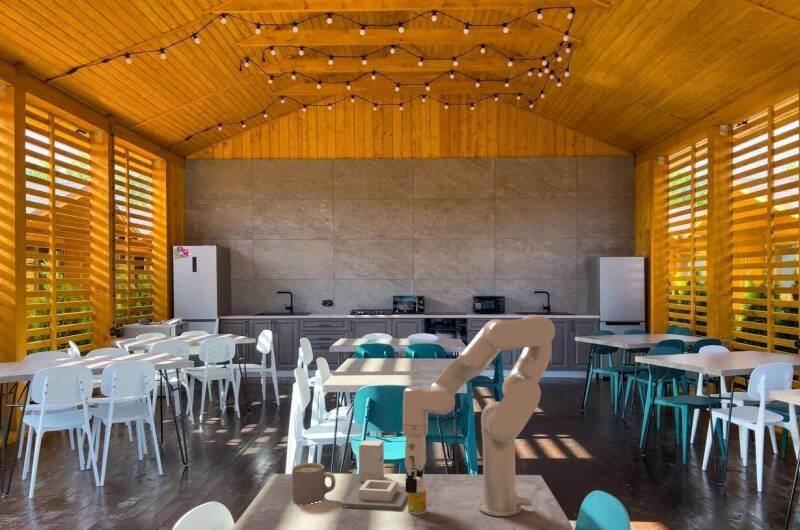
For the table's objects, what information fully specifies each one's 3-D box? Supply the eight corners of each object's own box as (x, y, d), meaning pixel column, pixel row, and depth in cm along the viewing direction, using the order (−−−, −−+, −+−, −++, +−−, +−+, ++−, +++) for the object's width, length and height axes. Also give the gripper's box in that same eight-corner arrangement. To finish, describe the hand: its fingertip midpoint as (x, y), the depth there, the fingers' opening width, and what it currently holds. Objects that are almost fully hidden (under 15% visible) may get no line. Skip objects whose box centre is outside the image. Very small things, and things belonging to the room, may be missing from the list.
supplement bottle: (412, 516, 182) (412, 482, 182) (405, 510, 187) (404, 477, 187) (429, 513, 184) (428, 480, 184) (421, 507, 189) (421, 475, 189)
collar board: (411, 491, 204) (411, 478, 204) (400, 510, 187) (400, 496, 187) (358, 488, 208) (358, 475, 208) (342, 507, 190) (342, 493, 190)
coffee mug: (288, 503, 194) (287, 471, 194) (299, 493, 203) (299, 462, 204) (329, 506, 191) (329, 473, 191) (338, 495, 201) (338, 464, 201)
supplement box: (379, 483, 213) (379, 445, 213) (358, 482, 214) (358, 444, 215) (384, 476, 220) (384, 440, 220) (364, 475, 222) (363, 439, 222)
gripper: (422, 436, 177) (421, 497, 177) (432, 423, 194) (431, 479, 193) (396, 434, 179) (395, 495, 178) (408, 422, 196) (407, 477, 195)
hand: (414, 487), depth 186 cm, fingers open, 9 cm apart
